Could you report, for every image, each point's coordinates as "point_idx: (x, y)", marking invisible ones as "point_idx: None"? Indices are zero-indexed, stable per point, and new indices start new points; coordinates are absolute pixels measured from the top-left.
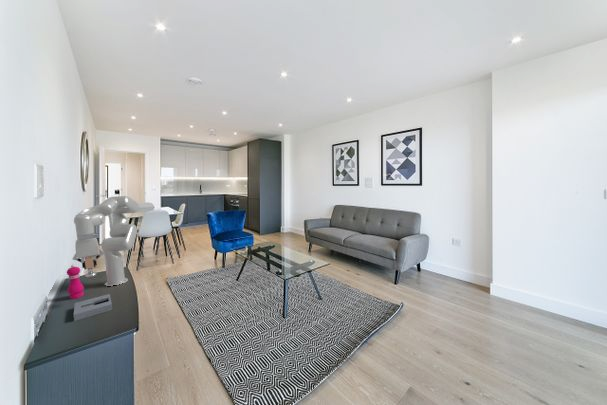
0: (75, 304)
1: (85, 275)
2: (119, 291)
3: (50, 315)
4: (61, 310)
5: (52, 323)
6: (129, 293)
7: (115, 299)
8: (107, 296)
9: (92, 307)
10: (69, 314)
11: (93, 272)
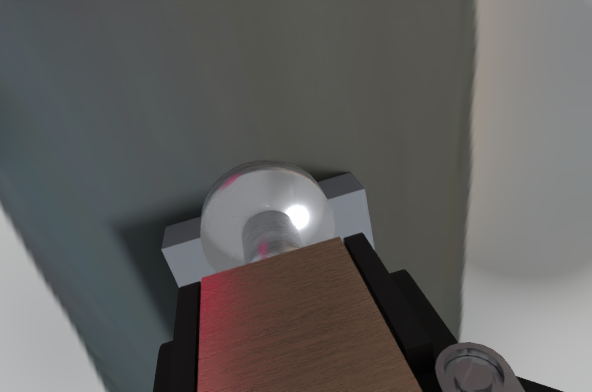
0: (179, 276)
1: (209, 258)
2: (399, 32)
3: (39, 263)
4: (72, 214)
5: (126, 362)
6: (460, 129)
7: (381, 193)
8: (356, 231)
9: None
10: (167, 294)
11: (295, 197)
